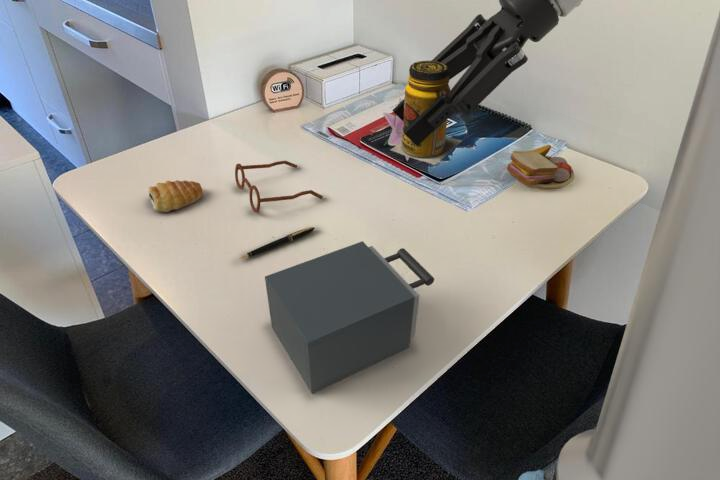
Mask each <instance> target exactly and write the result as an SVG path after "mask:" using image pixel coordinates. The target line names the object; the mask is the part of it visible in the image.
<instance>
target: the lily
mask: <svg viewBox="0 0 720 480" xmlns="http://www.w3.org/2000/svg"><path fill="white" fill-rule="evenodd" d="M402 100H403V99H402V97H399V98H398V104H399V103H400V102H401V101H402ZM383 116H384V118H385V119H386V121H387V122H388V124H389V125H390V127H391V133H390V136H389V138H388V139H387V140H386V142H385V143H384V144H383V146H386V145H389V146H392V147H393V146H394V147H395V146H397V145H398V144H399V143H400V142H402V134H403V121H402V120H401V119H400V118H399V117H398V116H397V115H396V114H395V115H394V114H391V113H389V112H383ZM404 157H405V160H406V161H407V162H408V161H409V160H410V157H407V156H404Z"/></svg>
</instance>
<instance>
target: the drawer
mask: <svg viewBox="0 0 720 480" xmlns="http://www.w3.org/2000/svg"><path fill="white" fill-rule="evenodd" d="M368 247H369V248H370V249H371V251H372V252H373V253H374V254H375V255H376V256H377V257H378V258H379V259H380V260H381V261H382V262H383V263H384V264H385V266H386V267H387V268H388V269H389V270H390V271H391V272H392V273H393V274H394V275H395V276H396V277H397V278H398V279H399V281H400V282H401V283H402V284H403V285H404V286H405V287H406V288H407V289H408V290H409V291H410V292H411V293H412V294H413V296H414V297H415V299H414V309H413V318H412V328H411V337H410V340H411V339H413V338H415V337H416V329H417V319H418V313H419V312H418V311H419V302H420V294H419V293H418V292H416V290H415V289H416V288H419V287H421V286H424V285H425V286H427V287H429V286H431V285H432V284H434V282H435V277H434V276H433V275H432V274H431V273H429V271H427V269H426V268H425V267H424V266H422V265H421V263H420V262H419V261H417V259H416V258H415V257H413V255H412V254H411V253H409V252H408V251H407V250H406V248H404V247H402V248H400V249H398V250H397V252H396V253H394V254H391V255H389V256H387V257H384V256H383V255H382V254H381V253H380V252H379V251H378V250H377V249H376V248H375V247H374V246H373V245H371V246H368ZM399 259H400V260H401V261H402V262H403V263H404V264H405V265H406V266H407V267H408V268H409V270H411V271H412V273H413V274H415V276H416V277H417V278H418V280H415V281H413V282H410V283H408V282H407V280H405V279H404V277H402V276H401V274H400V273H398V271H397V270H396V269H395V268H394V267H393V266H392V265H391V262H395V261H397V260H399Z"/></svg>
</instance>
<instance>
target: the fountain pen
mask: <svg viewBox="0 0 720 480" xmlns="http://www.w3.org/2000/svg"><path fill="white" fill-rule="evenodd" d="M315 229H316V227H313V226H310V227H305V228H303V229H300V230H297V231H295V232H292V233H289V234H287V235H286V236H283V237H281V238H278V239H275V240H274V241H271V242H268V243H266V244H264V245H261V246H260V247H257V248H255V249H253V250H251V251H249V252H248V251H247V253H246V254H244V255H242V256H240V259H245V258H247V257H248V258H251V257H255V256H256V255H259V254H262V253H265V252H267V251H270V250H273V249H275V248H279V247H280V246H283V245H285V244H287V243H291V242H294V241H296V240H299V239H300V238H301V239H302V237H306V236H307V235H309V234H311V233H312V232H314V230H315Z"/></svg>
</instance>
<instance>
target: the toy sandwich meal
mask: <svg viewBox="0 0 720 480" xmlns="http://www.w3.org/2000/svg"><path fill="white" fill-rule="evenodd" d="M551 147H552V145H551V144H547V145H544V146H541V147H538V148H535V149H531V150H525V151H523V150H522V151H521V150H520V151H519V150H513V151H512V153H511V155H510V160H511V162H510V163H508V164H507V167H506V170H507V172H508V173H509V174H510V175H511V176H512V177H514V178H515V179H516V180H517V181H519V183H522V184H523V185H525V186H528V187H531V188H534V189H538V190H545V191H546V190H548V191H549V190H550V191H551V190H559V189H562V188H564V187H565V186H569V185H570V184H571V183H572V182H573V181H574V180H575V172H574V170H573V168H572V166H571V165H570V164H568V161H567V159H566V158H564V157H561V156H550V155H548V153H549V152H550V150H551Z"/></svg>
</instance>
